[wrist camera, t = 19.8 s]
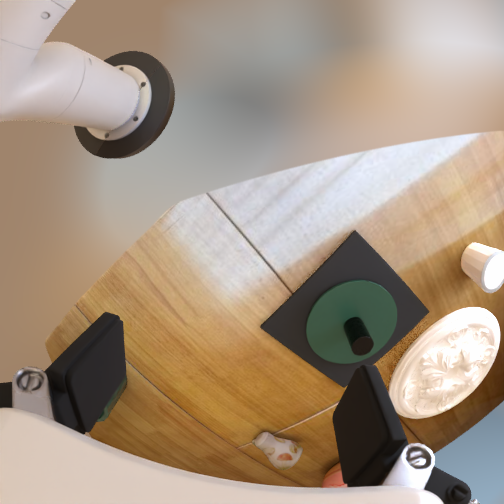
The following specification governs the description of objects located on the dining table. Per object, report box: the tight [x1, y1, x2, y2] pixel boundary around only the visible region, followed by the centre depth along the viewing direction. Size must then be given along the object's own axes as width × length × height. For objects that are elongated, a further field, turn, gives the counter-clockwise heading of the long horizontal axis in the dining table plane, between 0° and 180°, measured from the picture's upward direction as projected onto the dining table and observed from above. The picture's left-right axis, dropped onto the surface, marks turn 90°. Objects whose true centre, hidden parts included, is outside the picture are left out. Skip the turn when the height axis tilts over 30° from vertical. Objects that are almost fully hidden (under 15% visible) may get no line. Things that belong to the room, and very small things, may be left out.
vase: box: [322, 462, 347, 488], centre depth 45 cm, size 14×14×18 cm
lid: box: [306, 280, 397, 364], centre depth 39 cm, size 15×15×7 cm
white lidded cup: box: [461, 243, 504, 293], centre depth 35 cm, size 7×7×7 cm
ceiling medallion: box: [389, 307, 500, 419], centre depth 43 cm, size 28×28×3 cm
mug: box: [252, 432, 303, 470], centre depth 49 cm, size 8×10×10 cm
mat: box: [261, 230, 429, 387], centre depth 42 cm, size 20×20×1 cm
